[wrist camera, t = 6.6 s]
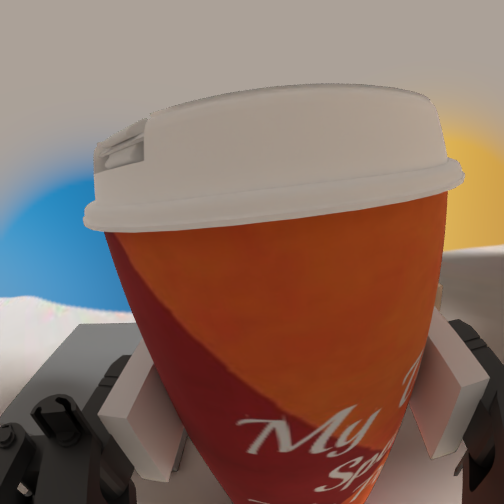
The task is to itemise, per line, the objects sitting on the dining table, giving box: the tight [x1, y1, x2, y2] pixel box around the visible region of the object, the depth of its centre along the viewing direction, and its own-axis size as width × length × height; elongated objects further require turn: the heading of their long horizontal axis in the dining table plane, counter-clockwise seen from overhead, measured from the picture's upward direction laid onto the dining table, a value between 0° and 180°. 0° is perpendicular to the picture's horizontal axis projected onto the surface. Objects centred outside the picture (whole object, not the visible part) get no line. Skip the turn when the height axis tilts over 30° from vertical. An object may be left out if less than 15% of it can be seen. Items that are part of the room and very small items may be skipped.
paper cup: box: [83, 84, 465, 504], centre depth 8 cm, size 8×8×14 cm
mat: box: [0, 323, 188, 471], centre depth 19 cm, size 14×14×1 cm
